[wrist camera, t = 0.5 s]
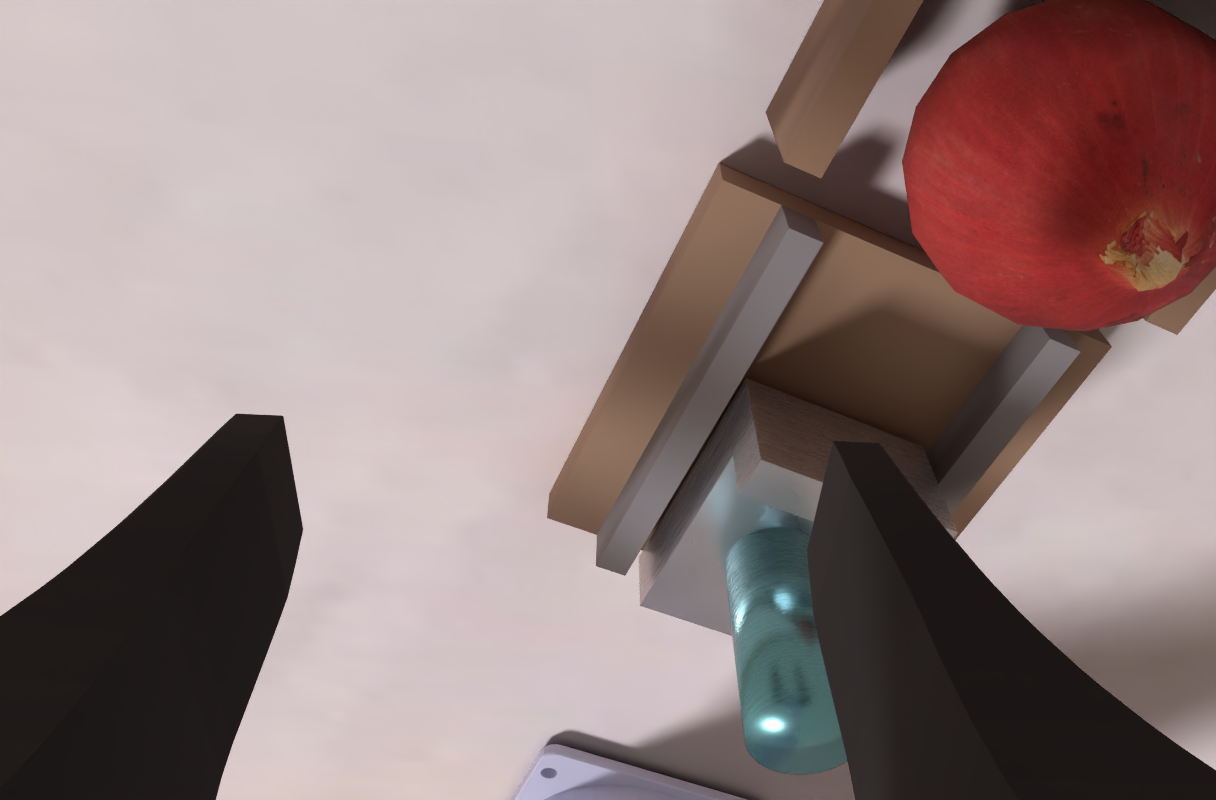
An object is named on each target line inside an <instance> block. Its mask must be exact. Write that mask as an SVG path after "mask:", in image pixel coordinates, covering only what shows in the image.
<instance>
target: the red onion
mask: <svg viewBox="0 0 1216 800" xmlns="http://www.w3.org/2000/svg"><path fill="white" fill-rule="evenodd" d="M902 164H903V171H904V178H905V185H906V192H907V199H908V206H909V213H910V220H911V227H912V233H913V235H914V236H915V238H916V239H917V241H918V242H919V243H920V245H921V246H922V248H923V249H924V251H925V252H926V254H927V255H928V256H929V258H930V259H931V261H932V262H933V264H934V265H935V267H936V268H937V269H938V271H939V272H940V274H941V275H942V276H943V278H944V279H945V280H946V281H947V282H948V284H949V285H950V286H951V287H952V289H953V290H954V291H955V292H957V293H959V294H961V295H962V296H964V297H966V298H968V299H970V300H972V301H974V302H976V303H978V304H980V305H982V306H984V307H986V308H987V309H989V310H991V311H993V312H995V313H997V314H999V315H1001V316H1003V317H1005V318H1007V319H1009V320H1011V321H1012V322H1014V323H1016V324H1018V325H1027V326H1035V327H1044V328H1053V329H1062V330H1071V331H1089V330H1094V329H1099V328H1104V327H1109V326H1114V325H1119V324H1124V323H1129V322H1133V321H1138V320H1140V319H1142V318H1144V317H1146V316H1148V315H1150V314H1152V313H1154V312H1156V311H1157V310H1159V309H1161V308H1163V307H1165V306H1167V305H1169V304H1171V303H1173V302H1175V301H1177V300H1179V299H1181V298H1183V297H1185V296H1187V295H1189V294H1190V293H1191V292H1192V291H1193V290H1194V289H1195V288H1196V287H1197V286H1198V285H1199V284H1200V283H1201V282H1202V281H1203V280H1204V279H1205V278H1206V277H1207V276H1208V275H1209V274H1210V273H1211V272H1212V271H1213V270H1214V269H1215V267H1216V40H1214V39H1212V38H1211V37H1209V36H1208V35H1206V34H1205V33H1203V32H1202V31H1200V30H1198V29H1197V28H1195V27H1193V26H1191V25H1189V24H1188V23H1186V22H1184V21H1182V20H1181V19H1179V18H1177V17H1175V16H1173V15H1172V14H1170V13H1168V12H1166V11H1164V10H1163V9H1161V8H1159V7H1157V6H1155V5H1154V4H1152V3H1150V2H1148V1H1144V0H1048V1H1044V2H1041V3H1038V4H1035V5H1032V6H1029V7H1026V8H1023V9H1020V10H1017V11H1013V12H1010V13H1007V14H1005V15H1003V16H1002V17H1000V18H999V19H998V20H996V21H995V22H994V23H992V24H991V25H990V26H988V27H987V28H986V29H984V30H983V31H981V32H980V33H979V34H977V35H976V36H975V37H973V38H972V39H971V40H969V41H968V42H967V43H965V44H964V45H962V46H961V47H960V48H958V49H957V50H956V51H954V52H953V53H952V54H951V55H950V56H949V58H948V59H947V61H946V62H945V64H944V65H943V67H942V68H941V70H940V71H939V73H938V75H937V76H936V78H935V79H934V81H933V82H932V84H931V85H930V87H929V88H928V90H927V91H926V93H925V94H924V96H923V97H922V99H921V100H920V102H919V103H918V105H917V106H916V109H915V113H914V117H913V121H912V125H911V129H910V133H909V137H908V141H907V144H906V148H905V152H904V156H903V160H902Z"/></svg>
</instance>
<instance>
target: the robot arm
mask: <svg viewBox="0 0 1216 800" xmlns="http://www.w3.org/2000/svg"><path fill="white" fill-rule="evenodd" d="M302 532H303V526H302V521H301V515H300V509H299V504H298V498H297V492H296V487H295V481H294V475H293V469H292V464H291V458H290V452H289V447H288V441H287V435H286V430H285V424H284V418H283V416H275V415H253V414H235V415H234V416H233V417H232V418H231V419H230V420H229V421H228V422H227V423H225V424H224V425H223V426H222V427H221V428H220V429H219V430H218V431H217V432H216V433H215V434H214V435H213V436H212V437H211V438H210V439H209V440H208V441H207V442H206V443H205V444H204V445H203V446H202V447H200V448H199V449H198V450H197V451H196V452H195V453H194V454H193V455H192V456H191V457H190V458H189V459H188V460H187V461H186V462H185V463H184V464H183V465H182V466H181V467H180V468H179V469H178V470H177V471H176V472H175V473H174V474H173V475H172V476H171V477H170V478H168V479H167V480H166V481H165V482H164V483H163V484H162V485H161V486H160V487H159V488H158V489H157V490H156V491H155V492H153V493H152V494H151V495H150V496H149V497H148V498H147V499H146V500H145V501H144V502H143V503H142V504H140V505H139V506H138V507H137V508H136V509H135V510H134V511H133V512H132V513H131V514H130V515H128V516H127V517H126V518H125V519H124V520H123V521H122V522H121V523H120V524H118V525H117V526H116V527H115V528H114V529H113V530H111V531H110V532H109V533H108V534H107V535H105V536H104V537H103V538H102V539H101V540H100V541H98V542H97V543H96V544H95V545H94V546H92V547H91V548H90V549H89V550H88V551H86V552H85V553H84V554H83V555H82V556H80V557H79V558H78V559H77V560H76V561H74V562H73V563H72V564H71V565H70V566H68V567H67V568H66V569H65V570H63V571H62V572H61V573H59V574H58V575H57V576H56V577H54V578H53V579H52V580H50V581H49V582H48V583H46V584H45V585H44V586H42V587H41V588H40V589H38V590H37V591H35V592H34V593H33V594H31V595H30V596H28V597H27V598H26V599H24V600H23V601H21V602H20V603H18V604H17V605H16V606H14V607H13V608H11V609H10V610H8V611H7V612H6V613H4V614H3V615H1V616H0V800H216V796H217V793H218V789H219V785H220V781H221V777H222V774H223V771H224V768H225V765H226V762H227V759H228V756H229V753H230V750H231V747H232V744H233V741H234V739H235V736H236V733H237V731H238V728H239V726H240V723H241V720H242V718H243V715H244V712H245V710H246V707H247V704H248V702H249V699H250V696H251V694H252V691H253V689H254V686H255V683H256V681H257V678H258V675H259V673H260V670H261V667H262V665H263V662H264V660H265V657H266V654H267V652H268V649H269V646H270V644H271V641H272V638H273V636H274V633H275V630H276V627H277V625H278V622H279V619H280V617H281V614H282V611H283V608H284V606H285V603H286V600H287V597H288V593H289V589H290V585H291V581H292V576H293V572H294V568H295V564H296V559H297V555H298V550H299V545H300V541H301V536H302ZM807 558H808V568H809V579H810V589H811V598H812V606H813V615H814V622H815V626H816V630H817V635H818V639H819V644H820V648H821V652H822V656H823V661H824V665H825V669H826V673H827V678H828V682H829V686H830V690H831V694H832V698H833V702H834V707H835V711H836V715H837V719H838V723H839V727H840V732H841V736H842V740H843V744H844V748H845V752H846V756H847V761H848V765H849V769H850V774H851V779H852V784H853V790H854V795H855V800H1216V770H1214V769H1213V768H1211V767H1210V766H1208V765H1207V764H1205V763H1204V762H1202V761H1201V760H1199V759H1198V758H1197V757H1195V756H1194V755H1192V754H1191V753H1189V752H1188V751H1186V750H1185V749H1183V748H1182V747H1180V746H1179V745H1178V744H1176V743H1175V742H1173V741H1172V740H1171V739H1169V738H1168V737H1167V736H1165V735H1164V734H1162V733H1161V732H1160V731H1158V730H1157V729H1155V728H1154V727H1153V726H1151V725H1150V724H1149V723H1147V722H1146V721H1145V720H1143V719H1142V718H1141V717H1140V716H1138V715H1137V714H1136V713H1134V712H1133V711H1132V710H1131V709H1129V708H1128V707H1127V706H1126V705H1124V704H1123V703H1122V702H1121V701H1119V700H1118V699H1117V698H1115V697H1114V696H1113V695H1112V694H1110V693H1109V692H1108V691H1107V690H1105V689H1104V688H1103V687H1102V686H1100V685H1099V684H1098V683H1097V682H1096V681H1094V680H1093V679H1092V678H1091V677H1090V676H1088V675H1087V674H1086V673H1085V672H1084V671H1082V670H1081V669H1080V668H1079V667H1078V666H1077V665H1076V664H1074V663H1073V662H1072V661H1071V660H1070V659H1069V658H1068V657H1067V656H1066V655H1065V654H1064V653H1062V652H1061V651H1060V650H1059V649H1058V648H1057V647H1056V646H1055V645H1054V644H1053V643H1051V642H1050V641H1049V640H1048V639H1047V638H1046V637H1045V636H1044V635H1043V634H1042V633H1040V632H1039V631H1038V630H1037V629H1036V628H1035V627H1034V626H1033V625H1032V624H1031V623H1030V622H1029V621H1028V620H1027V619H1026V618H1025V617H1024V616H1023V615H1022V614H1021V613H1020V612H1019V611H1018V610H1017V609H1016V608H1015V607H1014V606H1013V605H1012V604H1011V603H1010V602H1009V600H1008V599H1007V598H1006V597H1005V596H1004V595H1003V594H1002V593H1001V592H1000V591H999V590H998V589H997V588H996V587H995V586H994V585H993V583H992V582H991V581H990V580H989V579H988V578H987V577H986V576H985V574H984V573H983V572H982V571H981V570H980V569H979V568H978V567H977V565H976V564H975V563H974V562H973V561H972V560H971V558H970V557H969V556H968V555H967V554H966V552H965V551H964V550H963V549H962V548H961V546H960V545H959V544H958V543H957V542H956V541H955V539H954V538H953V537H952V536H951V535H950V533H949V532H948V531H947V530H946V529H945V527H944V526H943V525H942V524H941V522H940V521H939V520H938V519H937V517H936V516H935V515H934V514H933V512H932V511H931V510H930V508H929V507H928V506H927V505H926V503H925V502H924V501H923V499H922V498H921V497H920V496H919V494H918V493H917V492H916V490H915V489H914V488H913V486H912V485H911V484H910V483H909V481H908V480H907V479H906V477H905V476H904V475H903V473H902V472H901V471H900V469H899V468H898V467H897V465H896V464H895V463H894V461H893V460H892V459H891V457H890V456H889V455H888V454H887V452H886V451H885V450H884V449H883V447H882V446H881V445H880V444H879V443H869V442H847V441H833V442H832V446H831V450H830V455H829V459H828V463H827V467H826V472H825V476H824V480H823V484H822V489H821V493H820V497H819V501H818V506H817V510H816V514H815V518H814V523H813V527H812V531H811V535H810V540H809V544H808V548H807ZM511 800H747V799H744V798H741V797H737V796H734V795H730V794H727V793H724V792H720V791H717V790H713V789H710V788H706V787H703V786H700V785H696V784H693V783H689V782H686V781H683V780H679V779H676V778H672V777H669V776H665V775H662V774H659V773H655V772H652V771H648V770H645V769H642V768H638V767H635V766H631V765H628V764H624V763H621V762H618V761H614V760H611V759H607V758H604V757H601V756H597V755H594V754H590V753H587V752H583V751H580V750H577V749H573V748H570V747H566V746H563V745H558V744H551V745H548V746H545V747H544V748H543V749H542V750H541V751H540V752H539V754H538V756H537V757H536V759H535V761H534V762H533V764H532V766H531V767H530V769H529V770H528V772H527V774H526V775H525V777H524V779H523V780H522V782H521V784H520V785H519V787H518V788H517V790H516V792H515V793H514V795H513V797H512V798H511Z"/></svg>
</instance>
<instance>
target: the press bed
mask: <svg viewBox="0 0 1216 800" xmlns="http://www.w3.org/2000/svg"><path fill="white" fill-rule="evenodd" d="M922 2H923V0H824V2H823V4H822V6H821V8H820V9H819V11H818V13H817V15H816V17H815V19H814V21H813V23H812V25H811V27H810V29H809V30H808V32H807V34H806V36H805V38H804V40H803V42H802V44H801V46H800V48H799V50H798V51H797V53H796V55H795V57H794V59H793V61H792V63H791V65H790V67H789V69H788V71H787V72H786V74H785V76H784V78H783V80H782V82H781V84H780V86H779V88H778V90H777V92H776V93H775V95H774V97H773V99H772V101H771V103H770V105H769V107H768V109H767V111H766V114H767V117H768V120H769V123H770V125H771V128H772V131H773V134H774V136H775V139H776V142H777V145H778V147H779V150H780V153H781V156H782V159H783V161H784V163H786V164H789V165H791V166H793V167H795V168H798V169H800V170H802V171H805V172H807V173H809V174H811V175H814V176H816V177H818V178H822V176H823V175H824V173H825V171H826V169H827V168H828V166H829V164H830V162H831V161H832V159H833V157H834V155H835V154H836V152H837V150H838V148H839V147H840V145H841V143H842V141H843V140H844V138H845V136H846V134H847V133H848V131H849V129H850V128H851V126H852V124H853V122H854V121H855V119H856V117H857V115H858V114H859V112H860V110H861V108H862V107H863V105H864V103H865V101H866V100H867V98H868V96H869V94H870V93H871V91H872V89H873V87H874V86H875V84H876V82H877V80H878V79H879V77H880V75H881V73H882V72H883V70H884V68H885V66H886V65H887V63H888V61H889V59H890V58H891V56H892V54H893V53H894V51H895V49H896V47H897V46H898V44H899V42H900V40H901V39H902V37H903V35H904V33H905V32H906V30H907V28H908V26H909V25H910V23H911V21H912V19H913V18H914V16H915V14H916V12H917V11H918V9H919V7H920V5H921V4H922ZM1215 289H1216V267H1215V269H1214V270H1213V271H1212V272H1211V273H1210V274H1209V275H1208V276H1207V277H1206V278H1205V279H1204V280H1203V281H1202V282H1201V283H1200V284H1199V285H1198V286H1197V287H1196V288H1195V289H1194V290H1193V291H1192V292H1191V293H1190V294H1189V295H1187V296H1185V297H1183V298H1181V299H1179V300H1177V301H1175V302H1173V303H1171V304H1169V305H1167V306H1165V307H1163V308H1161V309H1159V310H1157V311H1156V312H1154V313H1152V314H1150V315H1148V316H1146V317H1144V320H1145V321H1147V322H1149V323H1151V324H1154V325H1156V326H1158V327H1161V328H1163V329H1165V330H1167V331H1170V332H1172V333H1174V334H1178V333H1179V332H1180V331H1181V330H1182V328H1183V327H1184V326H1185V325H1186V324H1187V323H1188V321H1189V320H1190V319H1191V318H1192V317H1193V315H1194V314H1195V313H1196V312H1197V311H1198V309H1199V308H1200V307H1201V306H1202V305H1203V304H1204V302H1205V301H1206V300H1207V299H1208V298H1209V296H1210V295H1211V294H1212V293H1213V292H1214V290H1215ZM1111 347H1112V346H1111V345H1110V344H1109V342H1108V341H1107V340H1106V339H1105V337H1104V336H1103V335H1102V333H1101V332H1100V331H1099V330H1098V329H1094V330H1089V331H1071V330H1062V329H1053V328H1044V327H1035V326H1027V325H1018V324H1016V323H1014V322H1012V321H1011V320H1009V319H1007V318H1005V317H1003V316H1001V315H999V314H997V313H995V312H993V311H991V310H989V309H987V308H986V307H984V306H982V305H980V304H978V303H976V302H974V301H972V300H970V299H968V298H966V297H964V296H962V295H961V294H959V293H957V292H955V291H954V290H953V289H952V287H951V286H950V285H949V284H948V282H947V281H946V280H945V279H944V278H943V276H942V275H941V274H940V272H939V271H938V269H937V268H936V267H935V265H934V264H933V262H932V261H931V259H930V258H929V256H928V255H927V254H926V252H924V251H922V250H919V249H917V248H915V247H912V246H910V245H908V244H905V243H903V242H901V241H898V240H896V239H894V238H892V237H889V236H887V235H885V234H882V233H880V232H878V231H875V230H873V229H871V228H868V227H866V226H864V225H861V224H859V223H857V222H854V221H852V220H850V219H848V218H845V217H843V216H841V215H838V214H836V213H834V212H831V211H829V210H827V209H824V208H822V207H820V206H817V205H815V204H813V203H810V202H808V201H806V200H804V199H801V198H799V197H797V196H794V195H792V194H790V193H787V192H785V191H783V190H780V189H778V188H776V187H773V186H771V185H769V184H766V183H764V182H762V181H759V180H757V179H755V178H753V177H750V176H748V175H746V174H743V173H741V172H739V171H736V170H734V169H732V168H729V167H727V166H725V165H722V164H720V163H719V164H718V166H717V168H716V170H715V172H714V174H713V176H712V178H711V180H710V182H709V184H708V186H707V187H706V189H705V191H704V193H703V195H702V197H701V199H700V201H699V203H698V205H697V207H696V209H695V211H694V213H693V215H692V217H691V219H690V221H689V223H688V225H687V226H686V228H685V230H684V232H683V234H682V236H681V238H680V240H679V242H678V244H677V246H676V248H675V250H674V252H673V254H672V256H671V258H670V260H669V262H668V264H667V265H666V267H665V269H664V271H663V273H662V275H661V277H660V279H659V281H658V283H657V285H656V287H655V289H654V291H653V293H652V295H651V297H650V299H649V301H648V303H647V305H646V306H645V308H644V310H643V312H642V314H641V316H640V318H639V320H638V322H637V324H636V326H635V328H634V330H633V332H632V334H631V336H630V338H629V340H628V342H627V344H626V345H625V347H624V349H623V351H622V353H621V355H620V357H619V359H618V361H617V363H616V365H615V367H614V369H613V371H612V373H611V375H610V377H609V379H608V381H607V383H606V384H605V386H604V388H603V390H602V392H601V394H600V396H599V398H598V400H597V402H596V404H595V406H594V408H593V410H592V412H591V414H590V416H589V418H588V420H587V422H586V423H585V425H584V427H583V429H582V431H581V433H580V435H579V437H578V439H577V441H576V443H575V445H574V447H573V449H572V451H571V453H570V455H569V457H568V459H567V461H566V463H565V464H564V466H563V468H562V470H561V472H560V474H559V476H558V478H557V480H556V482H555V484H554V486H553V488H552V490H551V492H550V494H549V504H548V515H547V518H549V519H552V520H555V521H558V522H561V523H564V524H567V525H570V526H573V527H576V528H579V529H582V530H585V531H587V532H590V533H593V534H596V535H597V552H596V566H598V567H601V568H604V569H607V570H610V571H613V572H616V573H619V574H622V575H626V573H627V572H628V570H629V568H630V567H631V565H632V563H633V562H634V560H635V558H636V557H637V555H638V553H639V552H640V550H643V549H644V548H645V546H646V544H647V543H648V541H649V539H650V538H651V536H652V534H653V533H654V531H655V529H656V528H657V526H658V524H659V523H660V521H661V519H662V517H663V516H664V514H665V512H666V511H667V509H668V507H669V506H670V504H671V502H672V501H673V499H674V497H675V496H676V494H677V492H678V491H679V489H680V487H681V486H682V484H683V482H684V481H685V479H686V477H687V476H688V474H689V472H690V471H691V469H692V467H693V466H694V464H695V462H696V461H697V459H698V457H699V456H700V454H701V452H702V451H703V449H704V447H705V446H706V444H707V442H708V440H709V439H710V437H711V435H712V434H713V432H714V430H715V429H716V427H717V425H718V424H719V422H720V420H721V419H722V417H723V415H724V414H725V412H726V410H727V409H728V407H729V405H730V404H731V402H732V400H733V399H734V397H735V395H736V394H737V392H738V390H739V389H740V387H741V385H742V384H743V382H744V380H745V379H746V378H747V379H750V380H752V381H755V382H758V383H760V384H763V385H765V386H768V387H770V388H773V389H776V390H778V391H781V392H783V393H786V394H789V395H791V396H794V397H796V398H799V399H802V400H804V401H807V402H809V403H812V404H814V405H817V406H820V407H822V408H825V409H827V410H830V411H833V412H835V413H838V414H840V415H843V416H846V417H848V418H851V419H853V420H856V421H858V422H861V423H864V424H866V425H869V426H871V427H874V428H877V429H879V430H882V431H884V432H887V433H890V434H892V435H895V436H897V437H900V438H902V439H905V440H908V441H910V442H913V443H915V444H918V445H921V446H923V448H924V451H925V453H926V456H927V458H928V461H929V463H930V465H931V468H932V470H933V473H934V475H935V478H936V480H937V482H938V485H939V487H940V490H941V492H942V495H943V497H944V499H945V502H946V504H947V507H948V509H949V511H950V514H951V516H952V519H953V521H954V524H955V526H956V528H957V531H958V533H957V535H956V536H955V537H954V539H955V540H956V539H957V537H958V536H959V535H960V534H961V532H962V531H963V530H964V529H965V528H966V526H967V525H968V524H969V523H970V521H971V520H972V519H973V518H974V516H975V515H976V514H977V513H978V511H979V510H980V509H981V508H982V506H983V505H984V504H985V503H986V502H987V500H988V499H989V498H990V497H991V495H992V494H993V493H994V492H995V490H996V489H997V488H998V487H999V485H1000V484H1001V483H1002V482H1003V481H1004V479H1005V478H1006V477H1007V476H1008V474H1009V473H1010V472H1011V471H1012V469H1013V468H1014V467H1015V466H1016V464H1017V463H1018V462H1019V461H1020V459H1021V458H1022V457H1023V456H1024V455H1025V453H1026V452H1027V451H1028V450H1029V448H1030V447H1031V446H1032V445H1033V443H1034V442H1035V441H1036V440H1037V438H1038V437H1039V436H1040V435H1041V433H1042V432H1043V431H1044V430H1045V429H1046V427H1047V426H1048V425H1049V424H1050V422H1051V421H1052V420H1053V419H1054V417H1055V416H1056V415H1057V414H1058V412H1059V411H1060V410H1061V409H1062V408H1063V406H1064V405H1065V404H1066V403H1067V401H1068V400H1069V399H1070V398H1071V396H1072V395H1073V394H1074V393H1075V391H1076V390H1077V389H1078V388H1079V386H1080V385H1081V384H1082V383H1083V382H1084V380H1085V379H1086V378H1087V377H1088V375H1089V374H1090V373H1091V372H1092V370H1093V369H1094V368H1095V367H1096V365H1097V364H1098V363H1099V362H1100V360H1101V359H1102V358H1103V357H1104V356H1105V354H1106V353H1107V352H1108V351H1109V349H1110V348H1111Z"/></svg>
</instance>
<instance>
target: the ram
mask: <svg viewBox="0 0 1216 800" xmlns="http://www.w3.org/2000/svg"><path fill="white" fill-rule="evenodd" d="M833 441H847V442H869V443H879V444H880V445H881V446H882V447H883V449H884V450H885V451H886V452H887V454H888V455H889V456H890V457H891V459H892V460H893V461H894V463H895V464H896V465H897V467H898V468H899V469H900V471H901V472H902V473H903V475H904V476H905V477H906V479H907V480H908V481H909V483H910V484H911V485H912V486H913V488H914V489H915V490H916V492H917V493H918V494H919V496H920V497H921V498H922V499H923V501H924V502H925V503H926V505H927V506H928V507H929V508H930V510H931V511H932V512H933V514H934V515H935V516H936V517H937V519H938V520H939V521H940V522H941V524H942V525H943V526H944V527H945V529H946V530H947V531H948V532H949V533H950V535H951V536H952V537H953V538H954V537H955V536H956V535H957V533H958V531H957V528H956V526H955V524H954V521H953V519H952V516H951V514H950V511H949V509H948V507H947V504H946V502H945V499H944V497H943V495H942V492H941V490H940V487H939V485H938V482H937V480H936V478H935V475H934V473H933V470H932V468H931V465H930V463H929V461H928V458H927V456H926V453H925V451H924V448H923V446H921V445H918V444H915V443H913V442H910V441H908V440H905V439H902V438H900V437H897V436H895V435H892V434H890V433H887V432H884V431H882V430H879V429H877V428H874V427H871V426H869V425H866V424H864V423H861V422H858V421H856V420H853V419H851V418H848V417H846V416H843V415H840V414H838V413H835V412H833V411H830V410H827V409H825V408H822V407H820V406H817V405H814V404H812V403H809V402H807V401H804V400H802V399H799V398H796V397H794V396H791V395H789V394H786V393H783V392H781V391H778V390H776V389H773V388H770V387H768V386H765V385H763V384H760V383H758V382H755V381H752V380H750V379H747V378H746V379H745V380H744V382H743V384H742V385H741V387H740V389H739V390H738V392H737V394H736V395H735V397H734V399H733V400H732V402H731V404H730V405H729V407H728V409H727V410H726V412H725V414H724V415H723V417H722V419H721V420H720V422H719V424H718V425H717V427H716V429H715V430H714V432H713V434H712V435H711V437H710V439H709V440H708V442H707V444H706V446H705V447H704V449H703V451H702V452H701V454H700V456H699V457H698V459H697V461H696V462H695V464H694V466H693V467H692V469H691V471H690V472H689V474H688V476H687V477H686V479H685V481H684V482H683V484H682V486H681V487H680V489H679V491H678V492H677V494H676V496H675V497H674V499H673V501H672V502H671V504H670V506H669V507H668V509H667V511H666V512H665V514H664V516H663V517H662V519H661V521H660V523H659V524H658V526H657V528H656V529H655V531H654V533H653V534H652V536H651V538H650V539H649V541H648V543H647V544H646V546H645V548H644V549H643V551H642V553H641V554H640V556H639V577H640V606H643V607H646V608H649V609H652V610H655V611H658V612H661V613H664V614H667V615H670V616H673V617H676V618H679V619H682V620H686V621H689V622H692V623H695V624H698V625H701V626H704V627H707V628H710V629H713V630H716V631H719V632H722V633H725V634H728V635H731V636H732V638H733V646H734V654H735V663H736V671H737V680H738V688H739V696H740V705H741V713H742V721H743V730H744V738H745V745H746V747H747V750H748V752H749V753H750V755H751V756H752V757H753V758H754V759H755V760H756V761H757V762H758V763H760V764H761V765H763V766H765V767H767V768H769V769H771V770H774V771H777V772H781V773H787V774H797V775H801V774H814V773H819V772H823V771H827V770H830V769H833V768H835V767H837V766H839V765H841V764H843V763H845V762H846V761H847V756H846V752H845V748H844V744H843V740H842V736H841V732H840V727H839V723H838V719H837V715H836V711H835V707H834V702H833V698H832V694H831V690H830V686H829V682H828V678H827V673H826V669H825V665H824V661H823V656H822V652H821V648H820V644H819V639H818V635H817V630H816V626H815V622H814V615H813V606H812V598H811V589H810V579H809V568H808V558H807V548H808V544H809V540H810V535H811V531H812V527H813V523H814V518H815V514H816V510H817V506H818V501H819V497H820V493H821V489H822V484H823V480H824V476H825V472H826V467H827V463H828V459H829V455H830V450H831V446H832V442H833Z"/></svg>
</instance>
